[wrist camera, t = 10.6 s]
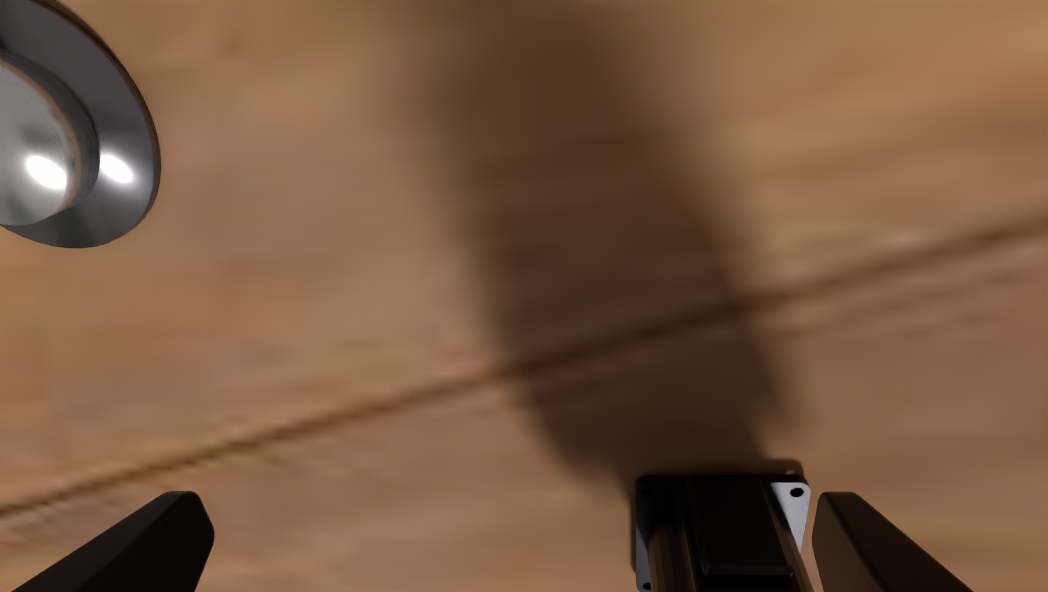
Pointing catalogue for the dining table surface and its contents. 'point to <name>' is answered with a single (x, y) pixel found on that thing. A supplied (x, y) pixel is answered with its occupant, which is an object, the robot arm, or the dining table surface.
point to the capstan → (41, 144)
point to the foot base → (114, 113)
